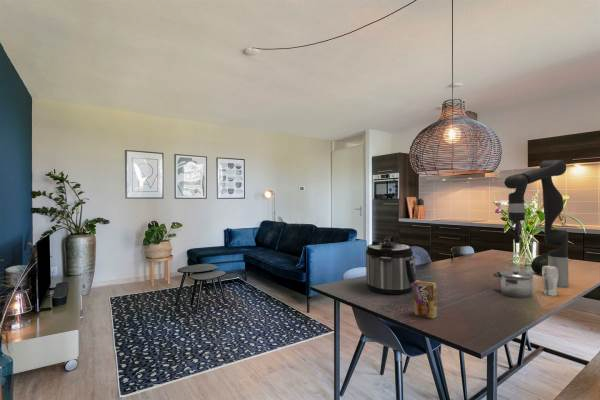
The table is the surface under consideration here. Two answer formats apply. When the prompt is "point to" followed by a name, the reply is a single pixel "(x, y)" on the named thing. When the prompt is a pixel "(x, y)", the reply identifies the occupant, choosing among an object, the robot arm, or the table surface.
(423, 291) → the candy box
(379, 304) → the table surface
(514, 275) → the lid
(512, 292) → the pot
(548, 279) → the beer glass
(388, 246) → the pressure cooker
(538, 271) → the squash
